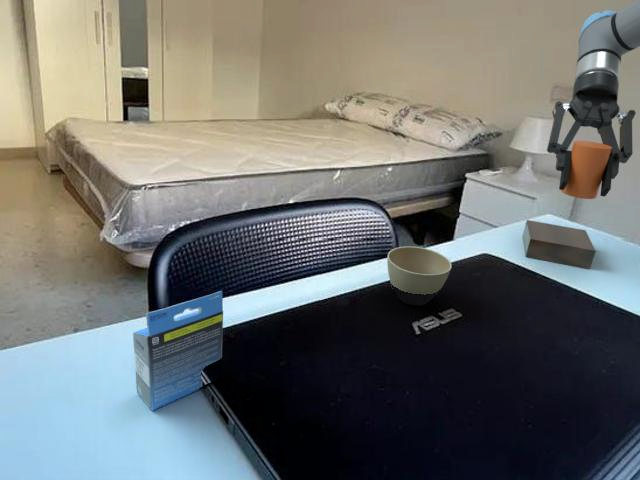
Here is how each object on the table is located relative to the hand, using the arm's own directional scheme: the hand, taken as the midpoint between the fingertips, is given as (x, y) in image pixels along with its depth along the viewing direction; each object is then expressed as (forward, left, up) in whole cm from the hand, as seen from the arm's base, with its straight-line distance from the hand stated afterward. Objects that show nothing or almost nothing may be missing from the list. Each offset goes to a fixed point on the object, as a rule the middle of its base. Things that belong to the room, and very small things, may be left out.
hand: (584, 188), depth 86 cm
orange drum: (0, -4, -2) cm, 4 cm away
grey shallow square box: (-1, -13, -17) cm, 22 cm away
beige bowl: (+24, +21, -17) cm, 36 cm away
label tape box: (+46, +54, -17) cm, 73 cm away
